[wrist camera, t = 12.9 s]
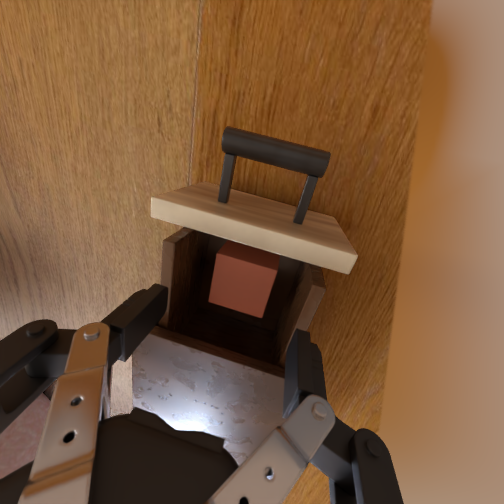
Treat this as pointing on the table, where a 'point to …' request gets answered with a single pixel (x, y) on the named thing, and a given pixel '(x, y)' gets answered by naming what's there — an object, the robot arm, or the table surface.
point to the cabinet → (208, 389)
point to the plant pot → (23, 436)
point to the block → (243, 278)
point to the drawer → (256, 235)
